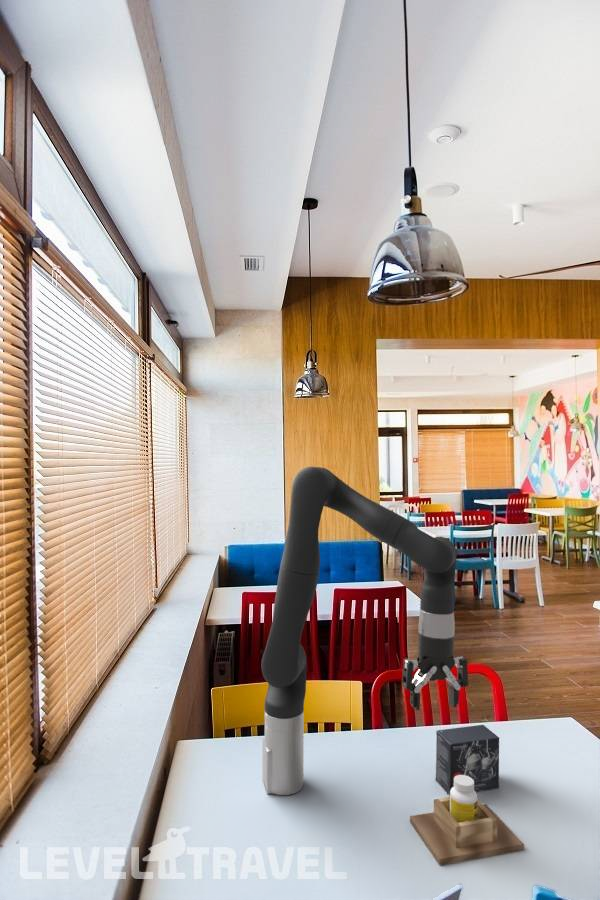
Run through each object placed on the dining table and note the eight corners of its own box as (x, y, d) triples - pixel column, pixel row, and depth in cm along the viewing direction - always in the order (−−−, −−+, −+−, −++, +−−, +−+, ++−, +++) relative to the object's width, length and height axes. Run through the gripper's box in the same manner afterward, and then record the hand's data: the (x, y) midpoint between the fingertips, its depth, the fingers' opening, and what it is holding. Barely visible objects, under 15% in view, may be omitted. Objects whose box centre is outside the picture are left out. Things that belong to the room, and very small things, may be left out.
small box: (450, 797, 125) (449, 744, 125) (434, 781, 131) (434, 730, 132) (500, 788, 128) (500, 736, 129) (483, 772, 135) (482, 723, 135)
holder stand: (439, 865, 104) (439, 837, 104) (409, 821, 116) (409, 796, 116) (523, 850, 108) (523, 822, 108) (486, 809, 120) (486, 785, 121)
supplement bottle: (479, 839, 109) (479, 789, 109) (451, 836, 110) (451, 786, 110) (474, 822, 114) (475, 774, 115) (447, 819, 115) (448, 771, 115)
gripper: (412, 638, 113) (410, 717, 113) (475, 635, 116) (473, 713, 116) (398, 627, 121) (396, 702, 120) (457, 625, 124) (456, 697, 123)
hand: (434, 707), depth 118 cm, fingers open, 8 cm apart
